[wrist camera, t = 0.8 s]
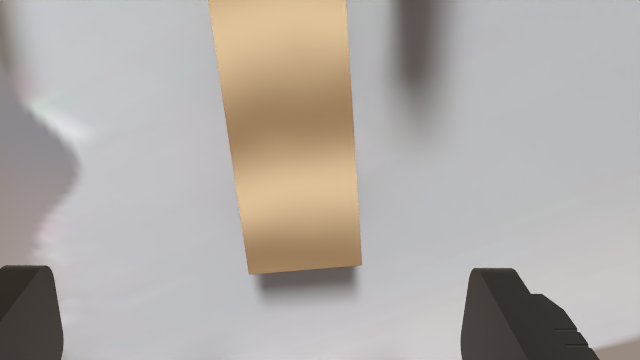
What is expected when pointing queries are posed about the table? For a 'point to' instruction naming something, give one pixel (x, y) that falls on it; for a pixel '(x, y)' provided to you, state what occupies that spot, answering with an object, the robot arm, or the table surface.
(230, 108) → the shelf board
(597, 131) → the table surface
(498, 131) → the table surface
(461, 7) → the table surface
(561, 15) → the table surface
